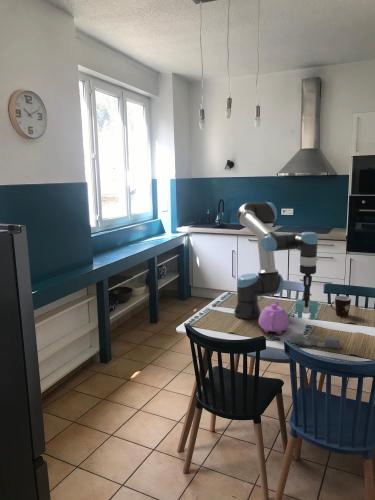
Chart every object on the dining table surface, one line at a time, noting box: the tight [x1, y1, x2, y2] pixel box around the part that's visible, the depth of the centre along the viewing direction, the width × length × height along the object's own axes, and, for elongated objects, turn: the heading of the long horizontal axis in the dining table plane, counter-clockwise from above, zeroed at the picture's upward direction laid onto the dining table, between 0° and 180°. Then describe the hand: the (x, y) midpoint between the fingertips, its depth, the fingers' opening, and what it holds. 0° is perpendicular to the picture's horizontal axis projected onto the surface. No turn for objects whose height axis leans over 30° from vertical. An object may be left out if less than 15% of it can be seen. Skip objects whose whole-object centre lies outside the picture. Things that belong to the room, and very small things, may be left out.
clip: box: [295, 299, 319, 320], centre depth 189 cm, size 10×6×8 cm, turn 71°
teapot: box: [258, 298, 290, 335], centre depth 200 cm, size 22×16×14 cm
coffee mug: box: [330, 295, 352, 318], centre depth 218 cm, size 12×9×10 cm
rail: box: [289, 332, 341, 350], centre depth 181 cm, size 22×4×4 cm, turn 71°
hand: (306, 310), depth 189 cm, fingers closed on clip, 6 cm apart
